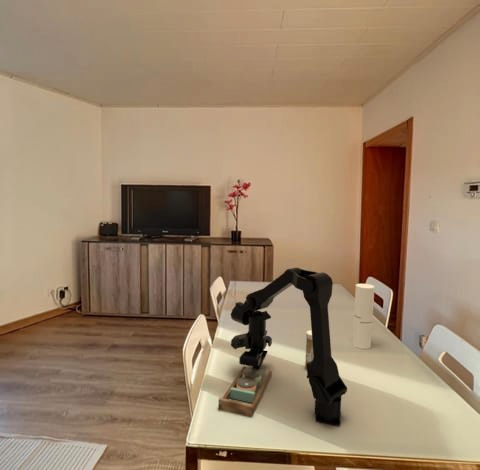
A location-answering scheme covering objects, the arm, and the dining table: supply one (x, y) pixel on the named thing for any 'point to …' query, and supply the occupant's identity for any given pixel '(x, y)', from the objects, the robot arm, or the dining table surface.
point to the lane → (239, 406)
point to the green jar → (253, 374)
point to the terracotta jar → (247, 384)
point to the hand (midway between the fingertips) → (256, 373)
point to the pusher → (242, 394)
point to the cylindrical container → (363, 316)
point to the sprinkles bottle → (309, 347)
